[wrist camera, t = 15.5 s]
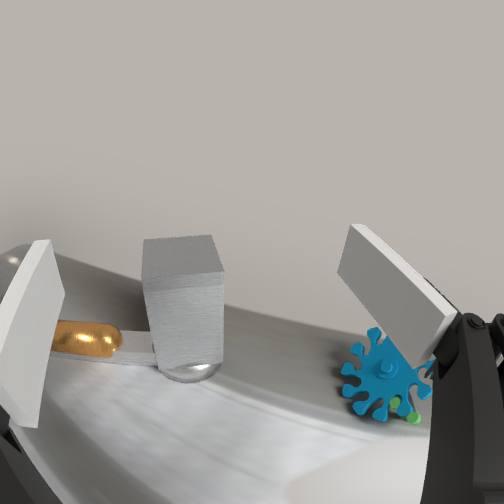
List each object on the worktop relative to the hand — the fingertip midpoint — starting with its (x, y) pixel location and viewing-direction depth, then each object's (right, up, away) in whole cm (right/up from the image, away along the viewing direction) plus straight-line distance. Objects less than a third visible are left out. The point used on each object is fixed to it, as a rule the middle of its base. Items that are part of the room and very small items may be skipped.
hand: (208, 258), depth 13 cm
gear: (+14, -14, +14) cm, 25 cm away
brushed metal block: (-5, -9, +16) cm, 19 cm away
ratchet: (-12, -10, +17) cm, 23 cm away
